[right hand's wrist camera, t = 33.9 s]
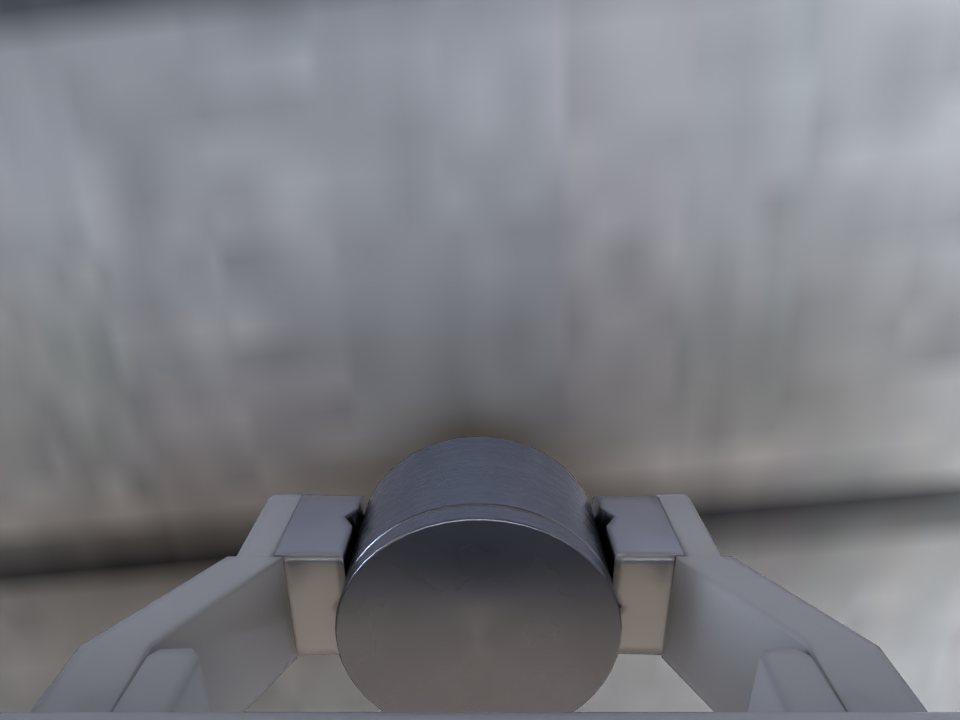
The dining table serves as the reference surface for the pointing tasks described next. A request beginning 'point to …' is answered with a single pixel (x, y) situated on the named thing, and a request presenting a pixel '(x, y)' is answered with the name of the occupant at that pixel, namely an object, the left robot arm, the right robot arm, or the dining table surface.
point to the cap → (478, 585)
